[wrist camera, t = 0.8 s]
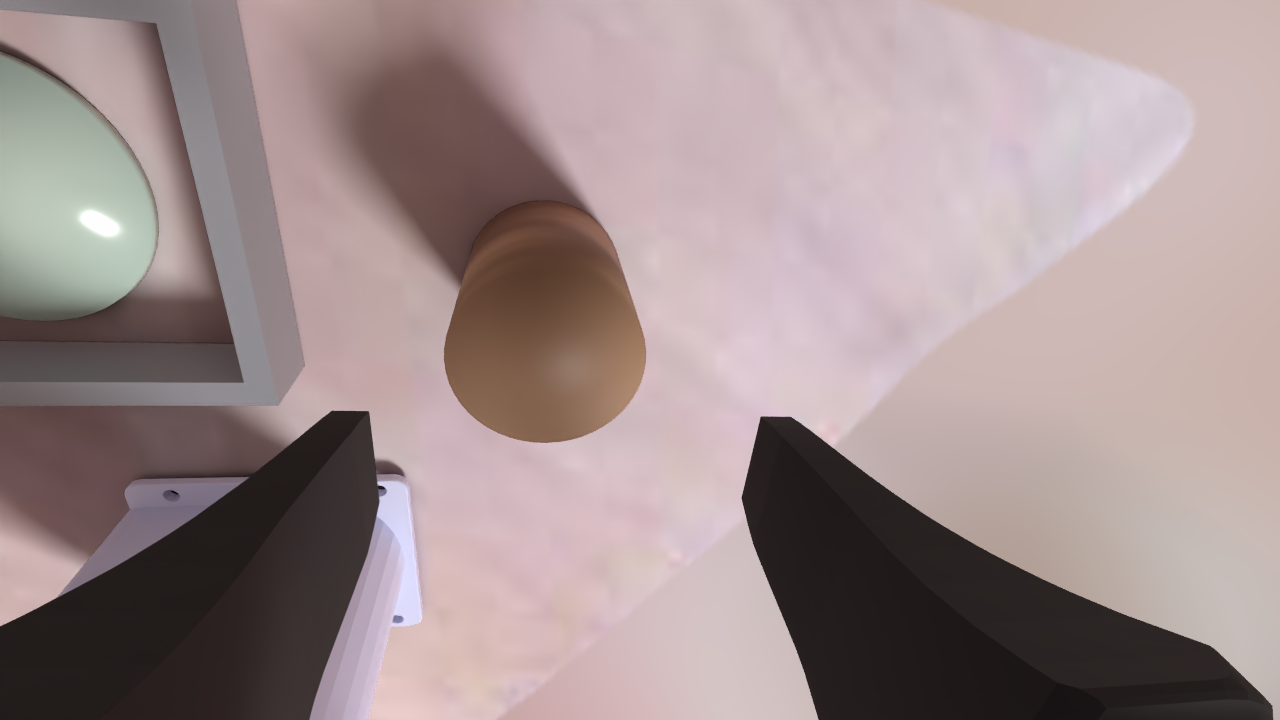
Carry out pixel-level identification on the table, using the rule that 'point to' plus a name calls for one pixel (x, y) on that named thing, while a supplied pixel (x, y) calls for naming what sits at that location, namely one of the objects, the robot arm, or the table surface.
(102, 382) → the grey rectangular frame
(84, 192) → the coaster
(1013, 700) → the robot arm
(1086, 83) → the table surface
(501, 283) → the walnut cylinder
